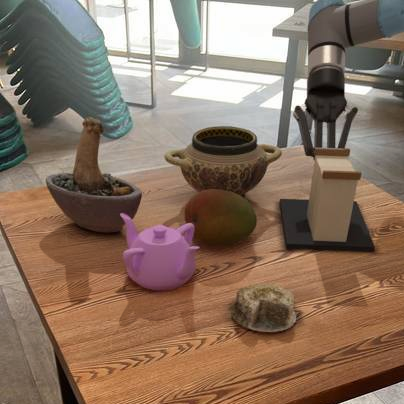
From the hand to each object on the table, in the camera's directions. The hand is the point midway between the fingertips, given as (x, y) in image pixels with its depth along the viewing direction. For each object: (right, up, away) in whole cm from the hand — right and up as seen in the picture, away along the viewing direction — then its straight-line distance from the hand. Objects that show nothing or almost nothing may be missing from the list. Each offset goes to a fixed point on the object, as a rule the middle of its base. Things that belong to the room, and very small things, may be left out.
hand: (323, 188), depth 114 cm
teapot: (-31, -20, -17) cm, 41 cm away
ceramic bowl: (-20, 0, +8) cm, 22 cm away
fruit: (-21, -12, -7) cm, 25 cm away
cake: (-15, -27, -26) cm, 41 cm away
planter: (-45, -9, -3) cm, 46 cm away
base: (0, -8, -1) cm, 8 cm away
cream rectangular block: (-1, -7, -2) cm, 8 cm away
